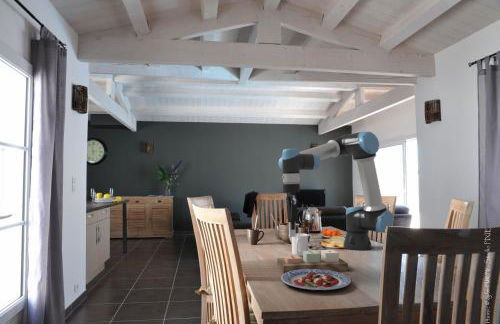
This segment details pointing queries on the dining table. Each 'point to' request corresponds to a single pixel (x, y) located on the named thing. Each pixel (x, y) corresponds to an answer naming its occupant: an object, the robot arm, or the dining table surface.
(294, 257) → the tile three
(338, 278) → the ceramic plate
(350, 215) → the robot arm
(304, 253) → the tile two
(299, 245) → the cup
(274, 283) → the dining table surface
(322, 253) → the tile one
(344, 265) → the button board
